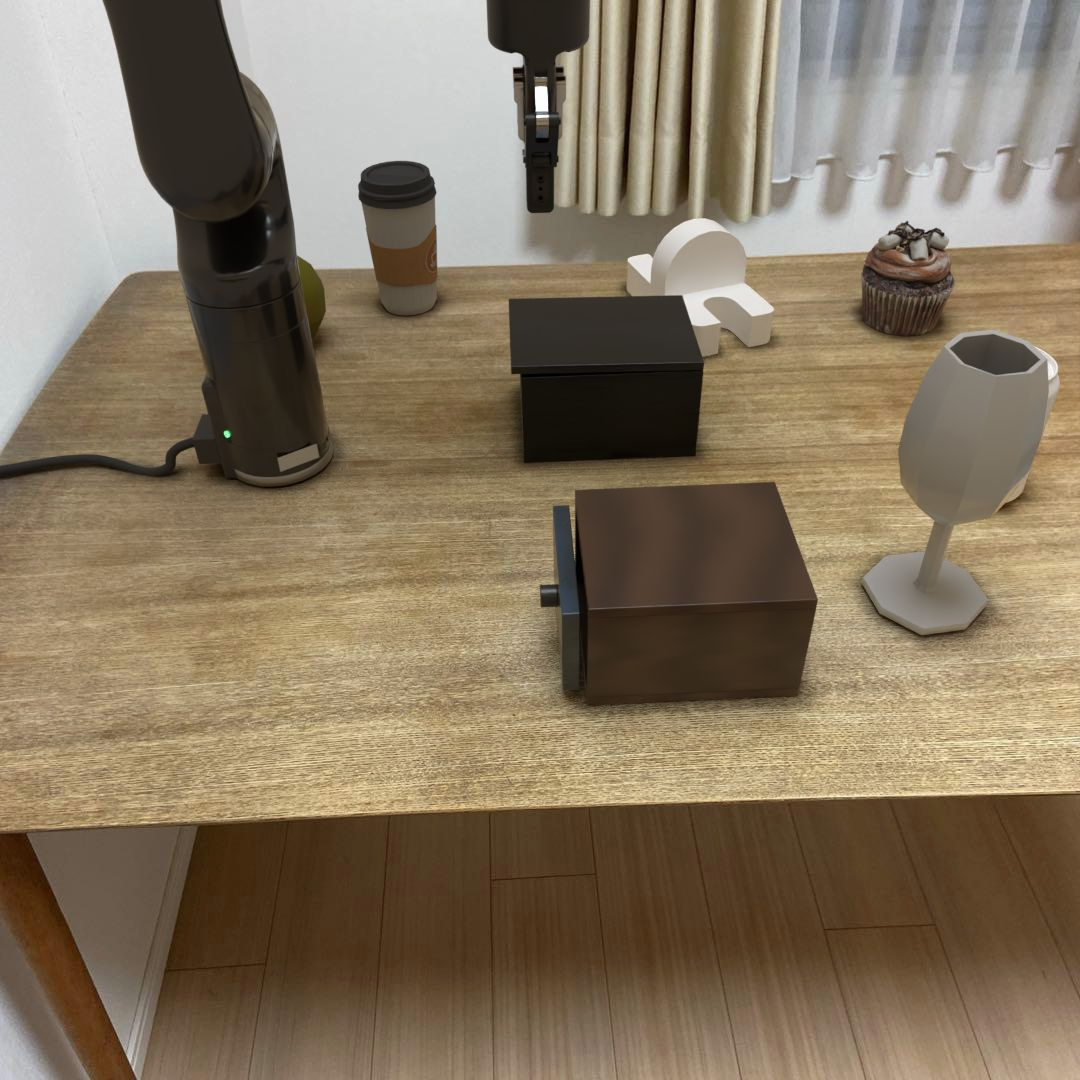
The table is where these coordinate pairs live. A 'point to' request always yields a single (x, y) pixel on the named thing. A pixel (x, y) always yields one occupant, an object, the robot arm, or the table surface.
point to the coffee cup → (401, 233)
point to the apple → (312, 295)
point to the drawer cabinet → (690, 593)
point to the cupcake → (906, 281)
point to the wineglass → (961, 469)
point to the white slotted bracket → (704, 283)
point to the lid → (602, 335)
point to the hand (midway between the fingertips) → (540, 209)
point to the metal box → (610, 415)
